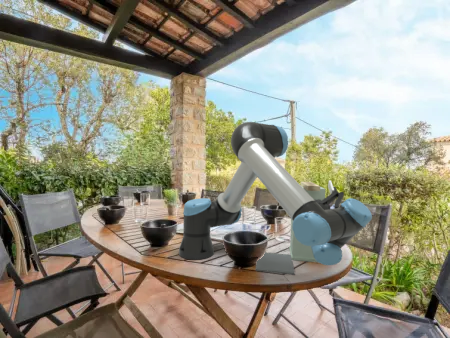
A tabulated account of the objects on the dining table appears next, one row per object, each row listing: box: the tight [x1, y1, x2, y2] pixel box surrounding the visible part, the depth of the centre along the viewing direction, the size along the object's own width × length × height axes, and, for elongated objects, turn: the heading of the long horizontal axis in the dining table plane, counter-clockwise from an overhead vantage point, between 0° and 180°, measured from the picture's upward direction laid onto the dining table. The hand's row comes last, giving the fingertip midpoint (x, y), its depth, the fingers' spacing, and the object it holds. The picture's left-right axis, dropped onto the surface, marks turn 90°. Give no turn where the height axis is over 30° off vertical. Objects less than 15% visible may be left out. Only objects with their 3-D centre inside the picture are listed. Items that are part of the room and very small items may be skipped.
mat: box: [255, 252, 296, 276], centre depth 98 cm, size 14×18×1 cm
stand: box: [288, 184, 326, 264], centre depth 106 cm, size 13×14×30 cm
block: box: [300, 181, 321, 191], centre depth 101 cm, size 4×21×2 cm, turn 169°
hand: (311, 182), depth 97 cm, fingers open, 13 cm apart
